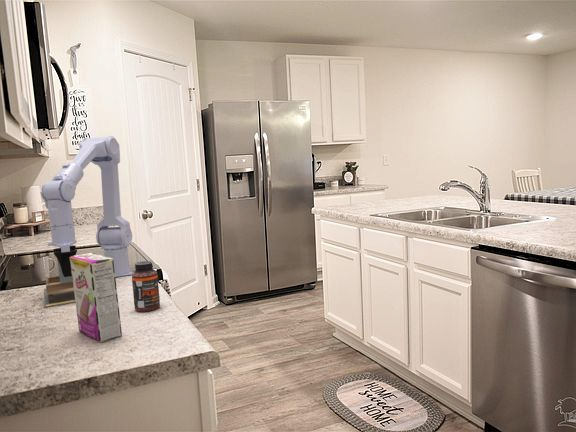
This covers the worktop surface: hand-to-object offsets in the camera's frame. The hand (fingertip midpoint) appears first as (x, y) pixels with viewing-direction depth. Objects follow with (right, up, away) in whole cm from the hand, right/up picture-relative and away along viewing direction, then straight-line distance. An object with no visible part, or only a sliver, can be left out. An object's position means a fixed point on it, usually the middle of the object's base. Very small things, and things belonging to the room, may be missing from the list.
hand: (68, 274), depth 131 cm
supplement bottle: (+26, -7, -14) cm, 30 cm away
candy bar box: (+21, -9, -30) cm, 38 cm away
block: (0, -2, 0) cm, 2 cm away
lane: (-1, -6, +4) cm, 7 cm away
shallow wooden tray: (0, -6, +1) cm, 6 cm away
